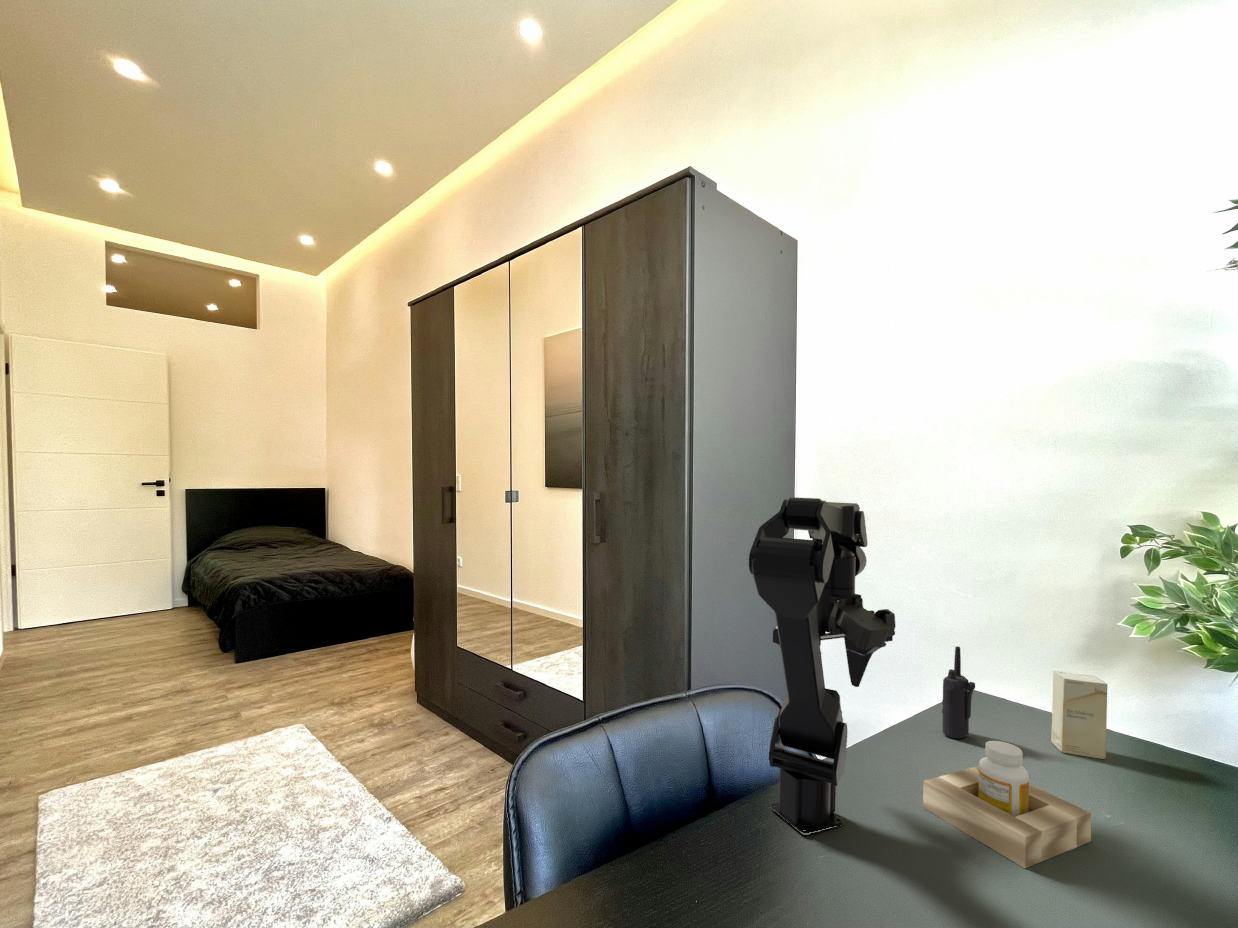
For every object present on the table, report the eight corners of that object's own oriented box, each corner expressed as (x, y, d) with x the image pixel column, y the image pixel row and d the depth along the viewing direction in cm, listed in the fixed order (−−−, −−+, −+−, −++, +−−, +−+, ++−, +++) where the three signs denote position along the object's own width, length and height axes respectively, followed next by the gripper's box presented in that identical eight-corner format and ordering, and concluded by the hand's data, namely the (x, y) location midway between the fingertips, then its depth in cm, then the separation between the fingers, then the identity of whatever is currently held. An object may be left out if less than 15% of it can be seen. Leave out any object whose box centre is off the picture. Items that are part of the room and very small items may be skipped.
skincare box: (1061, 753, 95) (1062, 678, 95) (1050, 741, 99) (1051, 669, 99) (1108, 760, 93) (1109, 683, 93) (1094, 747, 97) (1095, 674, 97)
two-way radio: (951, 727, 104) (953, 642, 104) (979, 736, 100) (980, 648, 100) (938, 735, 100) (940, 647, 100) (967, 745, 97) (968, 654, 97)
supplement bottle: (1012, 813, 77) (1013, 739, 77) (1038, 838, 72) (1039, 758, 72) (969, 809, 77) (971, 736, 78) (991, 834, 72) (993, 755, 72)
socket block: (1025, 868, 66) (1025, 836, 66) (923, 807, 78) (923, 780, 78) (1090, 841, 71) (1091, 812, 71) (986, 788, 83) (986, 763, 83)
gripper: (826, 600, 76) (824, 720, 76) (925, 592, 84) (923, 701, 83) (771, 585, 86) (769, 690, 86) (863, 578, 94) (861, 675, 94)
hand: (832, 689), depth 87 cm, fingers open, 9 cm apart
